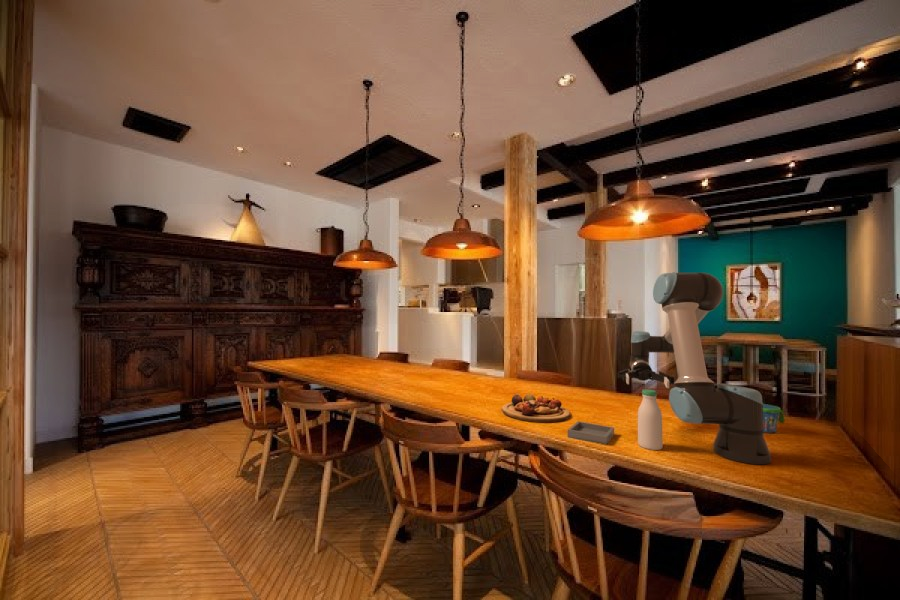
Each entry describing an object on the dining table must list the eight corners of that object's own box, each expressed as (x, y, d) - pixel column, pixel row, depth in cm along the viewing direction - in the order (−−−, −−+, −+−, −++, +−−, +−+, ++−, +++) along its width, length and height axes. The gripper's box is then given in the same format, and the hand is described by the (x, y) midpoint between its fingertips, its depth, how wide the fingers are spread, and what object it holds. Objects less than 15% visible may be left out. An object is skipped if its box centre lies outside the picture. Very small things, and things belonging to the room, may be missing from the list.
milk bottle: (667, 450, 124) (666, 392, 125) (644, 450, 125) (644, 392, 125) (655, 442, 132) (654, 388, 133) (633, 442, 132) (633, 388, 133)
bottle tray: (614, 434, 141) (614, 427, 141) (606, 445, 129) (606, 437, 130) (577, 427, 149) (577, 421, 149) (567, 437, 137) (567, 429, 138)
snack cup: (774, 427, 152) (773, 403, 152) (795, 435, 142) (794, 409, 142) (734, 426, 154) (734, 402, 154) (752, 434, 143) (752, 408, 144)
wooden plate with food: (549, 428, 149) (549, 408, 149) (488, 412, 171) (488, 395, 171) (581, 415, 172) (582, 397, 172) (524, 402, 194) (524, 387, 194)
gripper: (674, 381, 152) (685, 396, 133) (610, 375, 162) (611, 388, 142) (675, 364, 152) (686, 376, 132) (610, 359, 162) (612, 369, 142)
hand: (647, 382), depth 137 cm, fingers open, 13 cm apart
